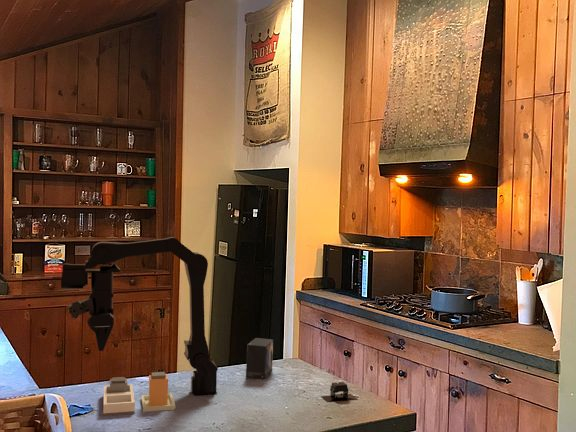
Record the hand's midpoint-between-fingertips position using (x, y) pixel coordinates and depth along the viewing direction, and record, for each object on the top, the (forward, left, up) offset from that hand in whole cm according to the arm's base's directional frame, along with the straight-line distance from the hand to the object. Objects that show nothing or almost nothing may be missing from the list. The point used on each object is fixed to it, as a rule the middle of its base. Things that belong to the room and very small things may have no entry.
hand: (101, 346), depth 163 cm
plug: (-15, +8, -14) cm, 22 cm away
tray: (-15, +8, -15) cm, 22 cm away
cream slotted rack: (-5, +6, -15) cm, 16 cm away
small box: (-48, -16, -15) cm, 53 cm away
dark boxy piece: (-64, +12, -15) cm, 67 cm away
